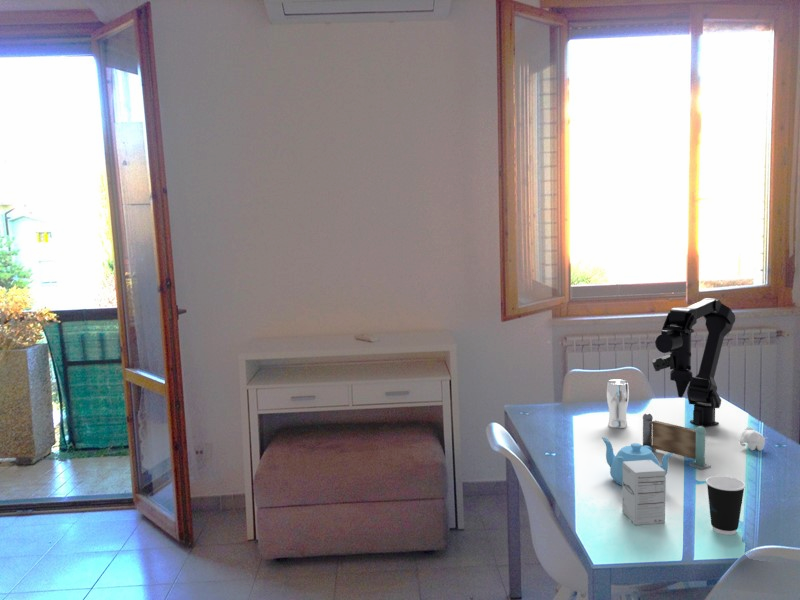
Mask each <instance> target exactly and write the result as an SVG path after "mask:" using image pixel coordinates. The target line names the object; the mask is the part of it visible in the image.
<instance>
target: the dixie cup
mask: <svg viewBox="0 0 800 600" xmlns="http://www.w3.org/2000/svg"><path fill="white" fill-rule="evenodd" d="M705 483H706V487H707V496H708V507H709V516H710V517H709V518H710V525H711V527H712V530H713V532H715V533H716V534H720V535H723V536H732V535H735V534H736V533H737V531H738V529H739V523H740V516H741V511H742V505H743V499H744V498H743V497H744V491H745V488H746V483H745V482H744V481H743V480H741V479H738V478H736V477H731V476H727V475H712V476H709V477H707V478H706V479H705Z"/></svg>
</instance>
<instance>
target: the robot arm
mask: <svg viewBox="0 0 800 600" xmlns="http://www.w3.org/2000/svg"><path fill="white" fill-rule="evenodd" d="M702 317H703V319H704V320H705V327H706V330H707V333H708V334H707V337H706V342H705V345H704V348H703V354H702V357H701V361H700V366H699V370H698V373H697V374H696V375H695V376H693V372H692V363H691V362H692V361H691V360H692V334H693V333H695V330H694V329H693V327H694V326H695V325H696V324H697V321H698V319H700V318H702ZM735 322H736V315H735V313H734V311H732V309H731V308H730V307H728V306H727V305H726V304H724V303H722V301H721V300H720V299H718V298H712V297H711V298H710V297H707V298H706V297H705V298H702V299H701V300H700V301H698V302H696V303H693V304H691V305H689V306H686V307H685V306H684V307H672V308H671V309H669V311H668V313H667V315H666V317H665V320H664V324H663V325H662V329H661V331H660V332H661V334H659V335H658V336H657V337H656V339H655V341H654V344H655V345H654V346H655V347H656V349H657V351H659V352H661V353H662V354H666V355H663V356H659V357H655V358H653V359H652V360H651V364H652V366H653V368H654V371H655V372H659V371H661V370H663V369H664V370H665V369H667V368H669V370H670V374H669V375H670V376H669V378H670V381H673V382H675V386H676V390H677V397H678V398H683V396H684V394H685V393H686V394H687V399H688V404H689V405H693V411H692V412H693V413H692V415H693V417H692V419H690V420H689V422H690V423H692V424H694V423H695V425H698V426H702V427H704V428H707V427H710V426H716V425H719V424H720V422H718V421H716V409H720V407H721V404H722V399H721V397H720V395H719V394H718V386H717V382H716V381H715V375H716V373H717V372H716V371H717V367H718V363H719V358H720V355H721V350H722V346H723V343H724V338H725V336H727V335H729V333H730V332H731V331H732V329H733V327H734V324H735ZM667 353H669V354H667Z"/></svg>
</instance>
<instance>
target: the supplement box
mask: <svg viewBox="0 0 800 600" xmlns="http://www.w3.org/2000/svg"><path fill="white" fill-rule="evenodd" d="M660 466H661V465H660ZM660 466H658V465H657V464H656V463H654V462H653V461H652V460H639V461H625V462H623V485H622V488H621V489H622V494H621V495H622V496H621V498H622V502H621V504H622V505H621V508H622V509H621V510H622V511H621V512H622V513H623V514H624V515H625V516H626V517H628V519H629V520H630V521H631V522H632V523H633V524H634V525H635V526H646V525H647V526H648V525H657V524H666V483H667V482H666V478H667V477H666V475H667V474H666V471H665V470H664V469H662V468H661V467H660Z"/></svg>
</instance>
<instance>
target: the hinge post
mask: <svg viewBox="0 0 800 600" xmlns="http://www.w3.org/2000/svg"><path fill="white" fill-rule="evenodd" d="M653 419H654V417H653V415H652V414H651V413H649V412H646V413H643V415H642V444H641V445H642V446H641V447H643V446H649V447H651V448H652V427H653V424H652V421H653ZM652 451H654V452H656V451H657V449H654V448H652Z"/></svg>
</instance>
